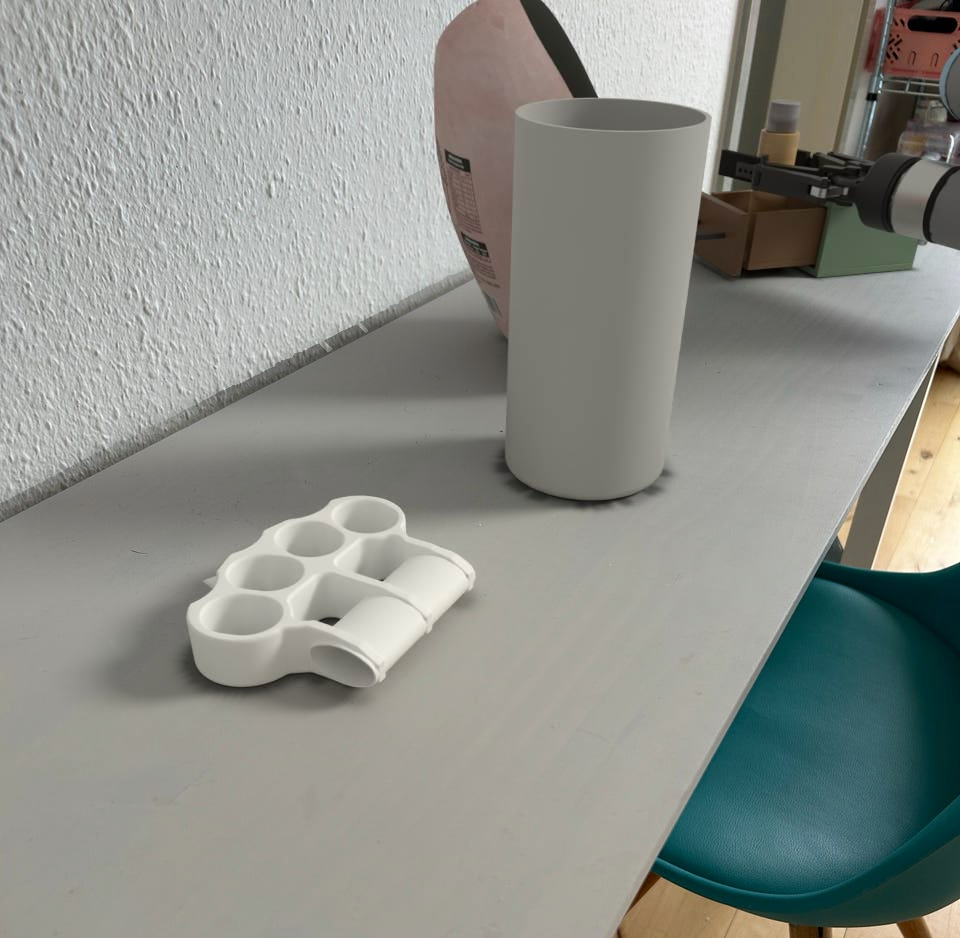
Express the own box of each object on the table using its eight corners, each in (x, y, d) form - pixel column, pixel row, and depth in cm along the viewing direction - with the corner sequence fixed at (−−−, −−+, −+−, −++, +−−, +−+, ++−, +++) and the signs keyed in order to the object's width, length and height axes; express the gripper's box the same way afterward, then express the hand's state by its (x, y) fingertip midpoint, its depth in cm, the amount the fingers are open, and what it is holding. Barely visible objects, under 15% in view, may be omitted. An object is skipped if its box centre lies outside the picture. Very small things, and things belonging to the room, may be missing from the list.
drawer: (694, 279, 115) (702, 217, 111) (647, 250, 124) (654, 192, 120) (823, 268, 119) (836, 208, 115) (769, 240, 128) (779, 184, 124)
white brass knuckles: (345, 735, 53) (138, 653, 58) (498, 574, 65) (317, 519, 71) (340, 686, 51) (127, 607, 56) (499, 530, 63) (313, 477, 69)
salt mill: (785, 251, 121) (813, 104, 111) (753, 253, 119) (779, 105, 110) (766, 241, 124) (792, 98, 114) (735, 244, 123) (759, 99, 113)
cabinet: (816, 277, 119) (833, 201, 114) (758, 247, 129) (771, 176, 124) (911, 269, 122) (931, 194, 117) (847, 239, 133) (863, 170, 127)
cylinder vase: (694, 485, 76) (752, 123, 61) (552, 518, 71) (577, 137, 56) (609, 422, 85) (641, 93, 70) (478, 448, 80) (482, 104, 65)
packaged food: (671, 388, 91) (724, 2, 73) (464, 405, 87) (466, 4, 69) (595, 310, 108) (623, -18, 90) (419, 322, 104) (411, -18, 86)
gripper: (842, 248, 102) (681, 202, 117) (951, 220, 112) (789, 181, 126) (860, 169, 98) (690, 132, 112) (972, 148, 107) (802, 116, 122)
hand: (743, 158), depth 119 cm, fingers open, 7 cm apart
